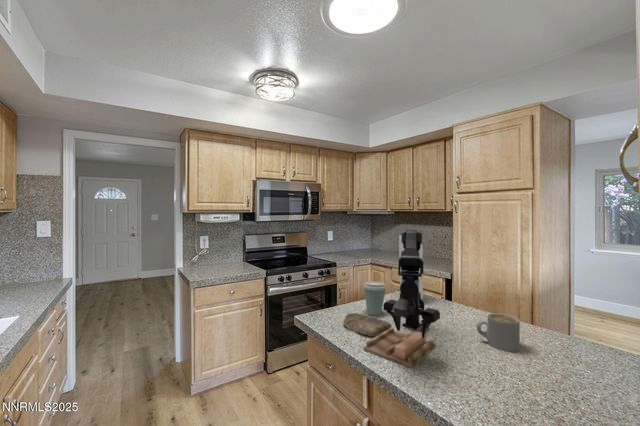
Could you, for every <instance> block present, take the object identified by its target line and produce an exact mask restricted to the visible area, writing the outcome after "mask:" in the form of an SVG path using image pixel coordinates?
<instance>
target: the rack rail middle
mask: <svg viewBox="0 0 640 426" xmlns="http://www.w3.org/2000/svg"><path fill="white" fill-rule="evenodd" d="M412 334H414V332H413V333H412V332H410V333H408V334H406V335H407V336H405V337H404V338H402V339H401V340H399V341H398V342H396V343H395V344H393V345H392V346H390V347H389V348H388V349H386V354H387V355H390V354H391V353H392V352H394V351H395V346H396V345H398V344H399V343H401V342H402V341H404V340H405V339H407V338H408V337H409V336H411V335H412Z"/></svg>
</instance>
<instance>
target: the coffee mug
mask: <svg viewBox="0 0 640 426" xmlns="http://www.w3.org/2000/svg"><path fill="white" fill-rule="evenodd" d="M520 323H521V322H520V319H519V318H518V317H516V316H514V315H511V314H506V313H500V312H498V313H497V312H495V313H488V314H487V319H480V320H478V321H477V324H476V331H477V333H478V334H480V335H481V336H482V337H484V338H486V340H487V344H488V345H489V346H490V347H492V348H493V349H496V350H499V351H504V352H511V353H512V352H518V351H519V350H520V349H521V348H520V346H521V345H520V333H521V331H520V328H521V327H520ZM482 325H485V326H486V330H485V331H482Z"/></svg>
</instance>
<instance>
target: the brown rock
mask: <svg viewBox="0 0 640 426" xmlns="http://www.w3.org/2000/svg"><path fill="white" fill-rule="evenodd" d="M342 323H343V324H344V326H345V327H346V329H347V330H350V331H351V332H353V333H357V334H361V335H365V336H368V337H376V336H378V335H380V334H381V333H383V332H385V331H386V330H388V329H390V328H391V327H393V326H392V323H390V322H389V321H388V320H383V319H379V318H377V317H375V316H372V315H365V314H361V313H355V312H354V313H347V314H346V316H345V318H344V319H343V321H342Z"/></svg>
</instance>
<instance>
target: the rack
mask: <svg viewBox="0 0 640 426" xmlns="http://www.w3.org/2000/svg"><path fill="white" fill-rule="evenodd" d="M407 335H408V334H405V333H403V332H400V331H397V330H394V332H393V333H392V334H390V335H388V336H387V337H385V338H384V339H382V340H380V341H379V342H377V343H375V344H374V345H372V346H371V347H369V348H368V347H366V345H365V346H363V351H365V352H367V353H370V354H372V355H375V356H378V357H380V358H383V359H384V360H385V359H386V360H388V361H391V362H393V363H396V364H398V365H401V366H403V367H406V368H409V369H412V368H413V367H414V366H416V365H417V363H419V362H420V361H421V360H423V358H425V356H427V355H428V354H430V352H431V351H433V350H434V349H435V348H436V347H437V343H435V342H434V344H433V345H432V346H431V347H430V348H429V349H427V350H426V351H425V352H424V353H423V354H422V355H420V356H419V357H418V358H417V359H416V360H414V361H413V362H412V363H408V357H409V356H410V355H409V356H408V357H407V358H406V359H403V358H400V357H397V356H395V351H394V352H392V353H391V354H390V355H387V354H386V349H388V348H389V347H390V346H392V345H393V344H395V343H396V342H398V341H399V340H401V339H402V338H404V337H405V336H407ZM428 341H429V340H427V339H425V343H427V342H428ZM425 343H424V344H425ZM424 344H423V345H424ZM423 345H422V346H423ZM422 346H421V347H422ZM419 348H420V347H419ZM419 348H418V349H419ZM418 349H417V350H418ZM417 350H416V351H417ZM414 352H415V351H414ZM414 352H413V353H414ZM413 353H412V354H413ZM412 354H411V355H412Z"/></svg>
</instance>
